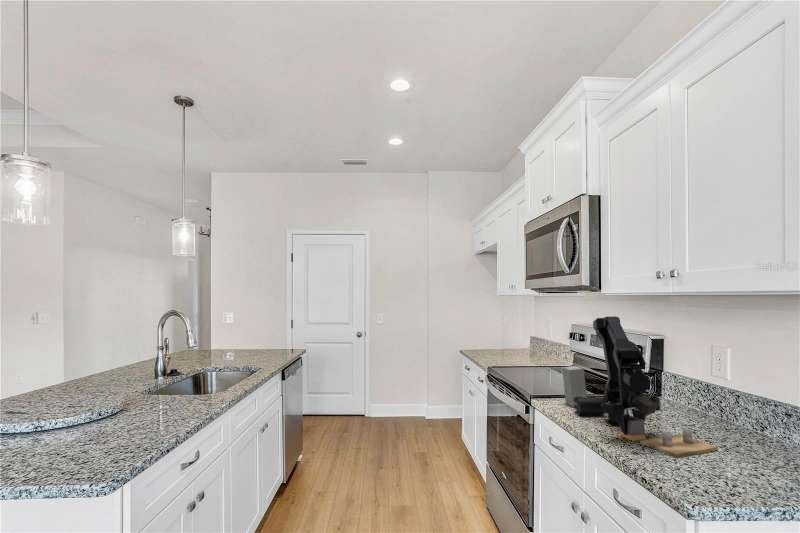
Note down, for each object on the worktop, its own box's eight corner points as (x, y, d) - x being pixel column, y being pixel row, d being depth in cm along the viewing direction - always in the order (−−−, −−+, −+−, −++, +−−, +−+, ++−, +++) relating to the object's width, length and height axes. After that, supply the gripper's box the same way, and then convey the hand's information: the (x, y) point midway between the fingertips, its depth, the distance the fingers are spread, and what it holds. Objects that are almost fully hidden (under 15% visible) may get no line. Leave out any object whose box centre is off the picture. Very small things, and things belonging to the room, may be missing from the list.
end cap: (580, 418, 154) (579, 399, 155) (573, 412, 161) (572, 395, 162) (607, 417, 154) (606, 399, 154) (598, 412, 161) (597, 394, 162)
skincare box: (588, 407, 167) (586, 368, 168) (571, 408, 167) (569, 369, 168) (580, 402, 175) (577, 365, 176) (563, 402, 175) (561, 365, 177)
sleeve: (620, 435, 134) (619, 417, 134) (632, 434, 135) (631, 415, 136) (632, 440, 129) (631, 421, 130) (645, 439, 131) (643, 419, 131)
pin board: (640, 443, 127) (639, 428, 127) (679, 437, 131) (678, 423, 132) (675, 457, 115) (674, 441, 116) (717, 450, 120) (716, 435, 120)
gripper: (625, 393, 123) (629, 445, 122) (673, 387, 128) (677, 438, 127) (598, 385, 134) (601, 433, 133) (643, 380, 139) (646, 427, 138)
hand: (632, 433), depth 132 cm, fingers closed on sleeve, 5 cm apart
